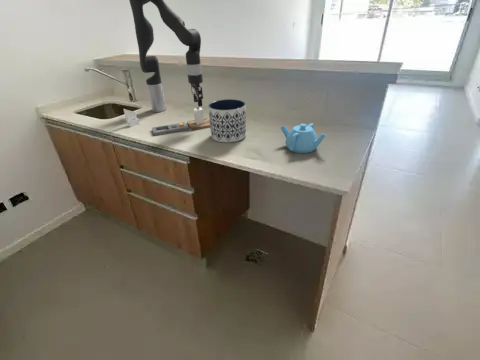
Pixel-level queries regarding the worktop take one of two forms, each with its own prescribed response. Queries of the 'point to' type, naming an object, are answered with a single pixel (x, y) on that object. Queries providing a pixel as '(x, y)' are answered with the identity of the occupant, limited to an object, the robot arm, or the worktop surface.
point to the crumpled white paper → (131, 118)
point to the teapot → (302, 138)
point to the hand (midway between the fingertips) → (198, 104)
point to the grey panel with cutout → (170, 128)
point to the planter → (227, 120)
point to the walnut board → (200, 126)
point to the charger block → (198, 115)
